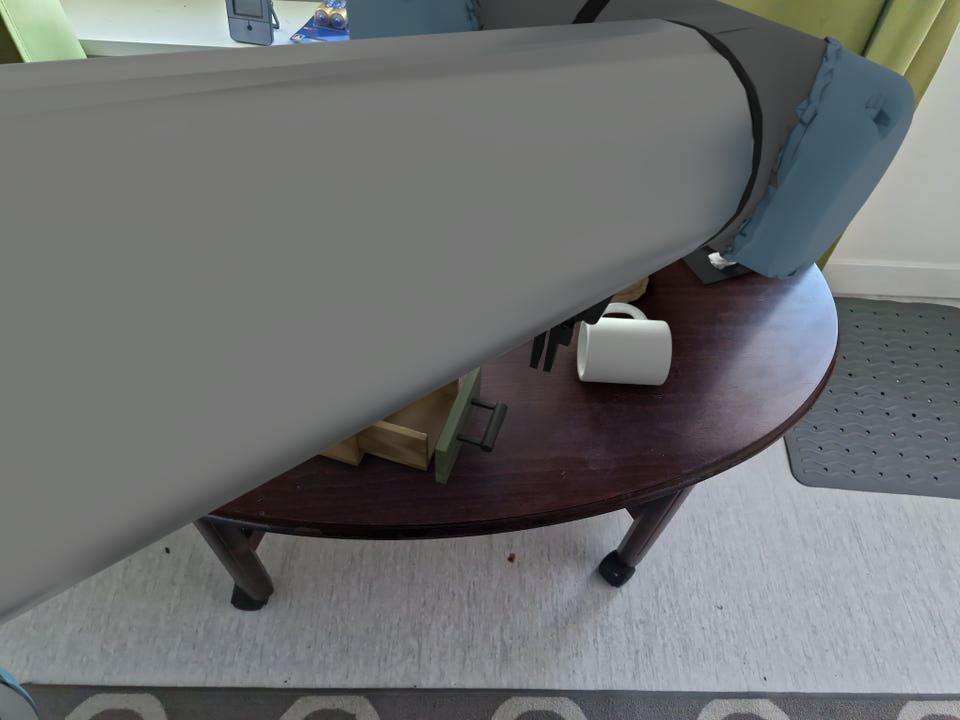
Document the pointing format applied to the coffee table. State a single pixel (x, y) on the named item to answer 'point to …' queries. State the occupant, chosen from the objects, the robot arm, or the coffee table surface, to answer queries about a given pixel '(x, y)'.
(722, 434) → the coffee table surface
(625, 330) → the mug
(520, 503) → the coffee table surface
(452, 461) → the drawer
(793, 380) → the coffee table surface
